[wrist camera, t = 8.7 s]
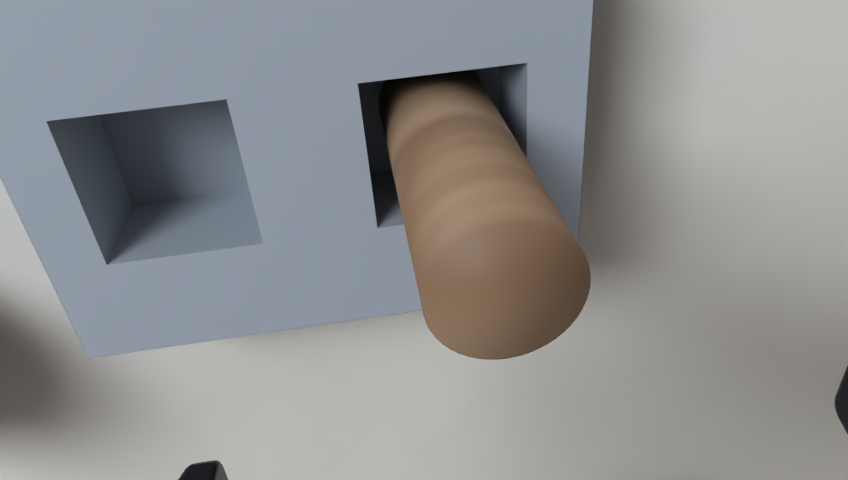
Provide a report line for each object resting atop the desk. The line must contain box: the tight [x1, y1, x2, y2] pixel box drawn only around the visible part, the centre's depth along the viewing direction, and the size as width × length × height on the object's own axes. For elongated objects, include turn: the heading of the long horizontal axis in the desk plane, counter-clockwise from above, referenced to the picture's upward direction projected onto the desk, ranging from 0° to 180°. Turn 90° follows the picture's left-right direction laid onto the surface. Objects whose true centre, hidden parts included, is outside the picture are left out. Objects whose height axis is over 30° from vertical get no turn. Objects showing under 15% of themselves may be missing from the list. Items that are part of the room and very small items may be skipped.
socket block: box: [0, 0, 593, 358], centre depth 18 cm, size 10×14×4 cm
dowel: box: [379, 69, 590, 359], centre depth 16 cm, size 3×3×9 cm
